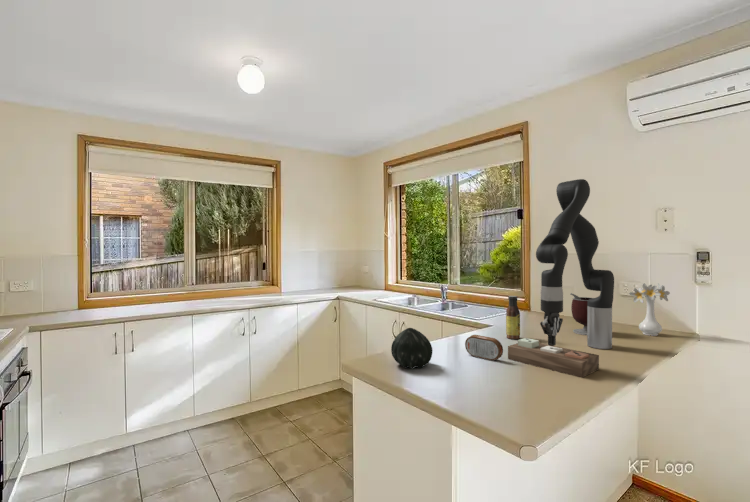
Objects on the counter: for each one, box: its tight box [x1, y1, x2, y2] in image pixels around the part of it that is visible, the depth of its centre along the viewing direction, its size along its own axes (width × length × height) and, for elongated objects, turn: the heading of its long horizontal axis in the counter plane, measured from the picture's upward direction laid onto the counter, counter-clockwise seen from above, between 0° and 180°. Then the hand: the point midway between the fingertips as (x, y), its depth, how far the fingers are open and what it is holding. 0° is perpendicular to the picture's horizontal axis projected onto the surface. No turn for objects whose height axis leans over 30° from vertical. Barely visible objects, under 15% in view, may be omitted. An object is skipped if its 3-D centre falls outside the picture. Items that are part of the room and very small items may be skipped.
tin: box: [464, 334, 504, 361], centre depth 147 cm, size 15×3×8 cm, turn 47°
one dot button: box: [540, 346, 563, 354], centre depth 140 cm, size 6×6×4 cm
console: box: [507, 342, 600, 379], centre depth 140 cm, size 14×27×5 cm, turn 39°
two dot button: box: [517, 337, 540, 348], centre depth 147 cm, size 6×6×4 cm
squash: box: [390, 327, 434, 369], centre depth 138 cm, size 14×15×15 cm
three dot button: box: [565, 351, 589, 359], centre depth 133 cm, size 6×6×4 cm
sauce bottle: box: [505, 295, 521, 340], centre depth 179 cm, size 7×6×20 cm
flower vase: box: [629, 283, 671, 337], centre depth 185 cm, size 13×18×25 cm
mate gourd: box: [570, 292, 593, 336], centre depth 190 cm, size 16×14×20 cm
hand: (551, 345), depth 140 cm, fingers closed
